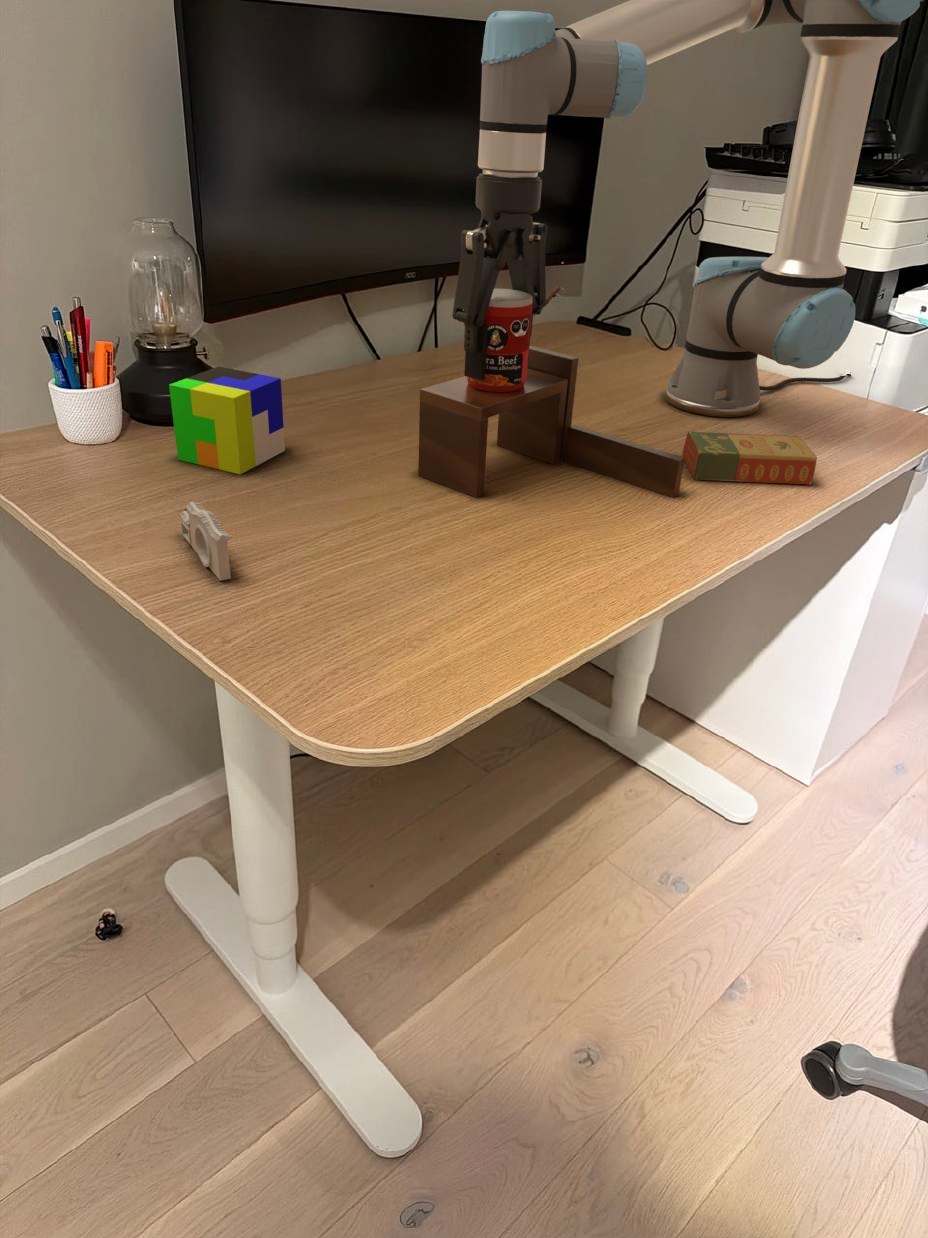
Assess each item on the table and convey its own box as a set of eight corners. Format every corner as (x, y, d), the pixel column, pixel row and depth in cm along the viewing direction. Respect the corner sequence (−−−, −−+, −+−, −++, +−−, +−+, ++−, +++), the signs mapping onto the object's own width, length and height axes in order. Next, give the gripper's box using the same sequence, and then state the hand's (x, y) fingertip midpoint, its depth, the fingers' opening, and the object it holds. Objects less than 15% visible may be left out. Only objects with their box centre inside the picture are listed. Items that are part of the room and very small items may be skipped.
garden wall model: (180, 537, 101) (174, 488, 98) (196, 534, 102) (190, 485, 99) (218, 583, 92) (213, 531, 89) (235, 579, 93) (230, 527, 90)
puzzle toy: (285, 450, 125) (280, 378, 120) (240, 474, 117) (233, 398, 112) (225, 437, 128) (218, 366, 123) (178, 459, 120) (168, 384, 115)
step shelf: (511, 439, 133) (518, 342, 125) (678, 494, 118) (697, 387, 111) (417, 475, 119) (420, 368, 112) (593, 542, 104) (608, 424, 97)
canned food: (461, 390, 114) (465, 298, 108) (471, 372, 121) (475, 285, 115) (522, 395, 113) (529, 304, 107) (528, 377, 120) (536, 290, 114)
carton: (811, 486, 122) (819, 456, 120) (692, 480, 122) (697, 450, 120) (793, 463, 129) (800, 434, 127) (681, 457, 129) (686, 428, 127)
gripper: (537, 166, 113) (523, 350, 125) (423, 173, 99) (419, 379, 111) (588, 172, 109) (567, 362, 121) (476, 180, 95) (465, 394, 107)
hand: (496, 370), depth 116 cm, fingers open, 8 cm apart
